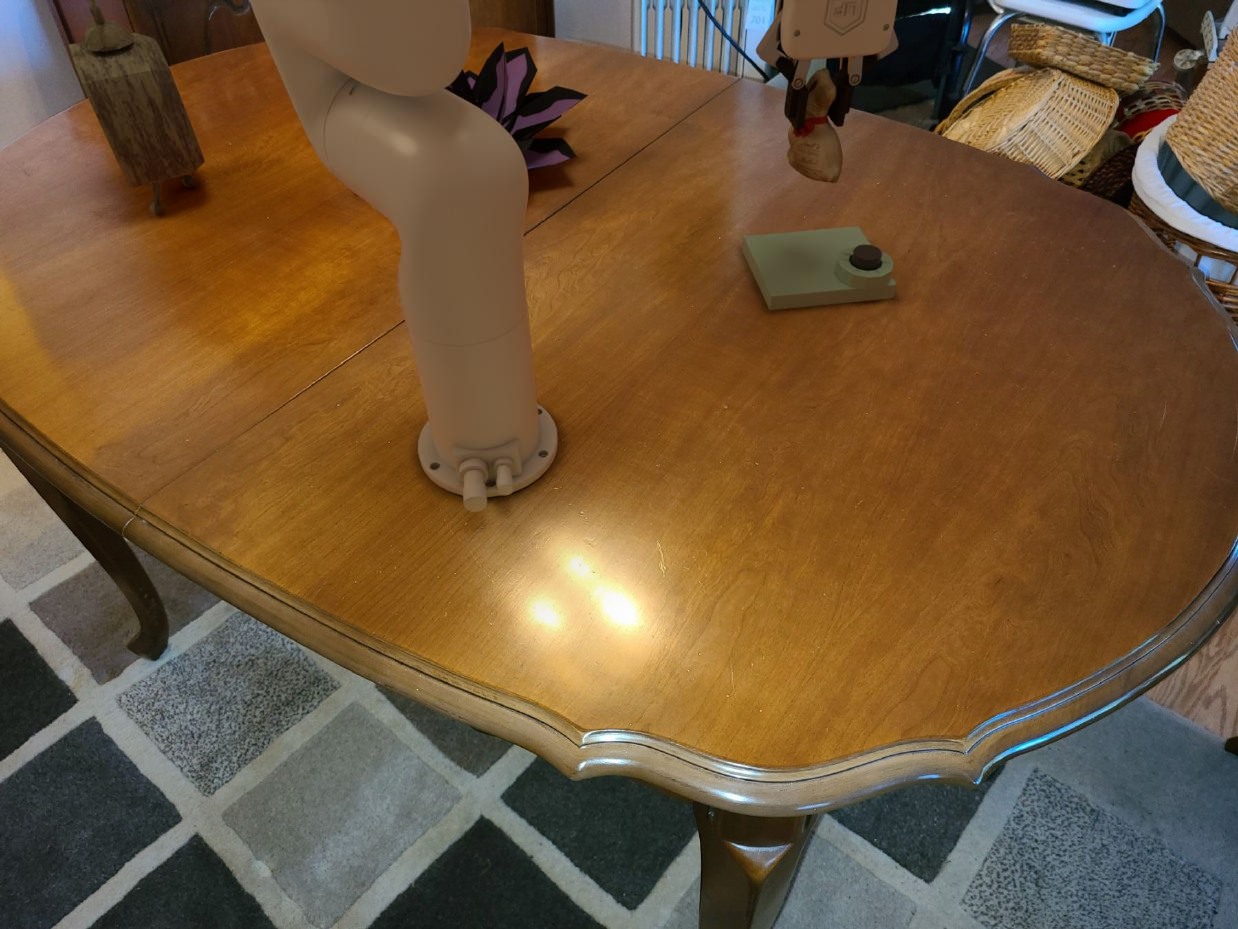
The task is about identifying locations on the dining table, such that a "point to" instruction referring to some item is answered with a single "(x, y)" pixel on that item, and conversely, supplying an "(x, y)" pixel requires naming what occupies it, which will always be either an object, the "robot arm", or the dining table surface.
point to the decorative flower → (519, 103)
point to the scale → (815, 268)
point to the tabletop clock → (137, 105)
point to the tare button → (866, 257)
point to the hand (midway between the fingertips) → (814, 120)
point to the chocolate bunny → (817, 134)
